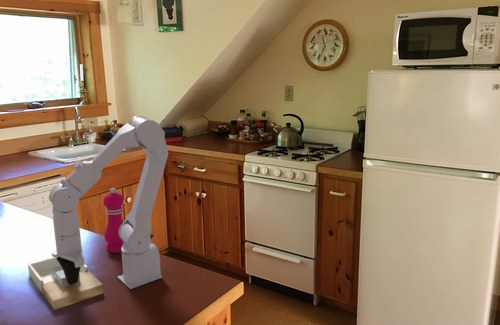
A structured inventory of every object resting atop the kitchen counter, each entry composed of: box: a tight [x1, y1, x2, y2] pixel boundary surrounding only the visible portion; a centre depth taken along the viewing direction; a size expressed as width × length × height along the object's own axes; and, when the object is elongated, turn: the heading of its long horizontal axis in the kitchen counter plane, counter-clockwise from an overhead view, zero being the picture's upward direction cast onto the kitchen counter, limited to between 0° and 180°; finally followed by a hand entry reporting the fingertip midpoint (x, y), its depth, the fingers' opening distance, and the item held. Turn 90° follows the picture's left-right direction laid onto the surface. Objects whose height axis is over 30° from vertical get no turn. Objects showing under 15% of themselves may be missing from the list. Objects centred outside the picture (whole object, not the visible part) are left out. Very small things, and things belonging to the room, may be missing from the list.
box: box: [27, 256, 89, 293], centre depth 120 cm, size 12×12×4 cm
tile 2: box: [56, 270, 80, 287], centre depth 113 cm, size 4×4×2 cm
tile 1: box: [51, 266, 63, 281], centre depth 117 cm, size 4×4×2 cm
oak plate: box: [41, 269, 104, 311], centre depth 112 cm, size 12×10×2 cm
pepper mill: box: [103, 187, 125, 254], centre depth 136 cm, size 7×7×20 cm
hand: (72, 282), depth 111 cm, fingers closed
